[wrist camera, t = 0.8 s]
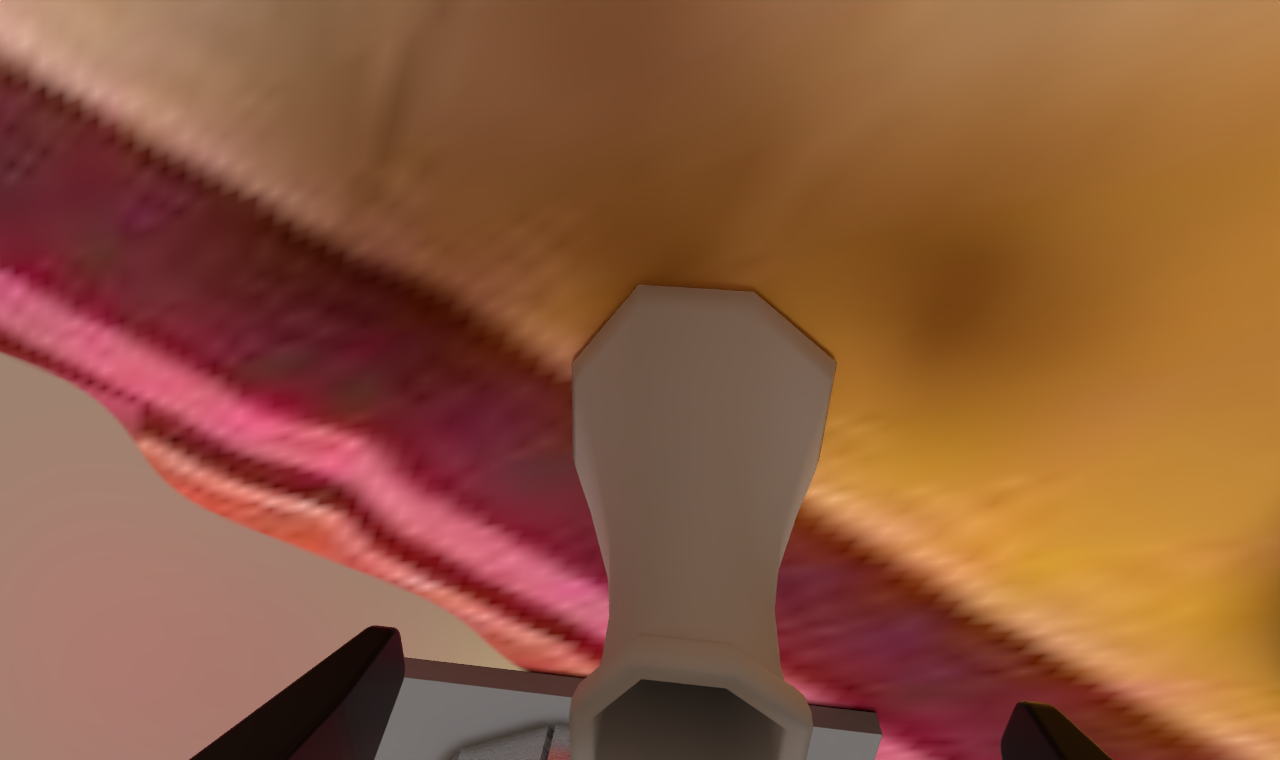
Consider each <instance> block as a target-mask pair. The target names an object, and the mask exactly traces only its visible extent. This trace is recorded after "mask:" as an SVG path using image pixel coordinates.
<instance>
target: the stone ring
mask: <svg viewBox="0 0 1280 760" xmlns="http://www.w3.org/2000/svg"><path fill="white" fill-rule="evenodd" d="M450 760H570V739H569V725H565V724H557V723H556V726H555V730H553V728H552V727H551V726H550V724H547V725H543V726H539V727H536V728H532V729H528V730H525V731H521V732H518V733H514V734H510V735H507V736H503V737H499V738H496V739H492V740H489V741H485V742H481V743H478V744H474V745H470V746H467V747H463V748H462V749H461V752H459V751H457V752H456V753H455V754H454V755H453V757H452V758H451V759H450Z"/></svg>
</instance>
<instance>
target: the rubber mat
mask: <svg viewBox="0 0 1280 760" xmlns="http://www.w3.org/2000/svg"><path fill="white" fill-rule="evenodd" d="M404 661H405V676H404V680H403V683H402V686H401V689H400V692H399V694H398V697H397V700H396V702H395V705H394V708H393V711H392V713H391V716H390V719H389V722H388V724H387V727H386V730H385V732H384V735H383V738H382V741H381V743H380V746H379V749H378V751H377V754H376V757H375V760H450V759H451V758H452V757H453V755H454V754H455V753H456V752H457V751H459V752H461V749H462V748H463V747H467V746H470V745H474V744H478V743H481V742H485V741H489V740H492V739H496V738H499V737H503V736H507V735H510V734H514V733H518V732H521V731H525V730H528V729H532V728H536V727H539V726H543V725H547V724H550V726H551V727H552V728H553V730H555V726H556V723H557V724H565V725H569V711H570V705H571V699H572V697H573V695H574V693H575V691H576V689H577V687H578V685H579V683H581V682H582V681H583V680H584V679H583V678H575V677H566V676H558V675H549V674H541V673H532V672H524V671H515V670H507V669H497V668H490V667H481V666H472V665H464V664H456V663H447V662H439V661H430V660H422V659H413V658H405V657H404ZM809 708H810V710H811V712H812V722H813V731H812V735H811V740H810V744H809V749H808V753H807V757H806V760H875V757H876V754H877V750H878V747H879V744H880V741H881V738H882V732H881V728H880V725H879V721H878V717H877V714H876V713H872V712H864V711H855V710H847V709H838V708H830V707H821V706H813V705H809Z"/></svg>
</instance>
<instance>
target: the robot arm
mask: <svg viewBox="0 0 1280 760" xmlns="http://www.w3.org/2000/svg"><path fill="white" fill-rule="evenodd" d="M404 676H405V661H404V655H403V649H402V643H401V636H400V632H399V631H398V630H397V629H396V628H394V627H393V628H392V627H385V626H370V627H368V628H366V629H365V630H363V631H362V632H361V633H359V634H358V635H357V636H355V637H354V638H353V639H351V640H350V641H349V642H347V643H346V644H344V645H343V646H342V647H341V648H339V649H338V650H336V651H335V652H334V653H332V654H331V655H330V656H328V657H327V658H326V659H324V660H323V661H322V662H320V663H319V664H318V665H316V666H315V667H313V668H312V669H311V670H309V671H308V672H307V673H306V674H304V675H303V676H301V677H300V678H299V679H297V680H296V681H295V682H293V683H292V684H291V685H289V686H288V687H287V688H285V689H284V690H283V691H281V692H280V693H278V694H277V695H276V696H274V697H273V698H272V699H270V700H269V701H268V702H266V703H265V704H264V705H262V706H261V707H260V708H258V709H257V710H255V711H254V712H253V713H251V714H250V715H249V716H248V717H246V718H245V719H243V720H242V721H241V722H239V723H238V724H237V725H235V726H234V727H233V728H231V729H230V730H229V731H227V732H226V733H224V734H223V735H222V736H220V737H219V738H218V739H217V740H215V741H214V742H212V743H211V744H210V745H208V746H207V747H206V748H204V749H203V750H202V751H200V752H199V753H198V754H196V755H195V756H194V757H192V758H191V759H189V760H375V757H376V754H377V751H378V749H379V746H380V743H381V741H382V738H383V735H384V732H385V730H386V727H387V724H388V722H389V719H390V716H391V713H392V711H393V708H394V705H395V702H396V700H397V697H398V694H399V692H400V689H401V686H402V683H403V680H404ZM1001 755H1002V759H1003V760H1113V759H1112V758H1111V757H1109V756H1108V755H1107V754H1106V753H1105V752H1104V751H1103V750H1102V749H1101V748H1100V747H1098V746H1097V745H1096V744H1095V743H1094V742H1093V741H1092V740H1091V739H1090V738H1089V737H1088V736H1086V735H1085V734H1084V733H1083V732H1082V731H1081V730H1080V729H1079V728H1078V727H1077V726H1075V725H1074V724H1073V723H1072V722H1071V721H1070V720H1069V719H1068V718H1067V717H1066V716H1065V715H1063V714H1062V713H1061V712H1060V711H1059V710H1058V709H1057V708H1055V707H1054V706H1052V705H1050V704H1046V703H1039V702H1031V701H1020V702H1019V703H1017V704H1016V706H1015V708H1014V710H1013V712H1012V715H1011V717H1010V719H1009V722H1008V724H1007V726H1006V729H1005V731H1004V733H1003V736H1002V739H1001Z"/></svg>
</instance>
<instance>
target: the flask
mask: <svg viewBox="0 0 1280 760" xmlns="http://www.w3.org/2000/svg"><path fill="white" fill-rule="evenodd" d="M836 365H837V362H836V361H834V360H833V359H832V358H831V357H830V356H829V355H827V354H826V353H825V352H824V351H823V350H822V349H820V348H819V347H818V346H817V345H816V344H815V343H813V342H812V341H811V340H810V339H809V338H808V337H806V336H805V335H804V334H803V333H802V332H801V331H799V330H798V329H797V328H796V327H795V326H794V325H792V324H791V323H790V322H789V321H788V320H787V319H785V318H784V317H783V316H782V315H781V314H780V313H778V312H777V311H776V310H775V309H774V308H773V307H771V306H770V305H769V304H768V303H767V302H766V301H764V300H763V299H762V298H761V297H760V296H759V295H757V294H756V293H755V292H750V291H735V290H719V289H704V288H688V287H672V286H657V285H641V284H639V285H638V286H637V287H636V288H635V289H634V291H633V292H632V293H631V294H630V295H629V296H628V298H627V299H626V300H625V301H624V302H623V304H622V305H621V306H620V307H619V308H618V309H617V311H616V312H615V313H614V314H613V315H612V317H611V318H610V319H609V320H608V321H607V322H606V324H605V325H604V326H603V327H602V328H601V330H600V331H599V332H598V333H597V334H596V335H595V337H594V338H593V339H592V340H591V341H590V343H589V344H588V345H587V346H586V347H585V348H584V350H583V351H582V352H581V353H580V354H579V356H578V357H577V358H576V359H575V360H574V362H573V363H572V444H573V459H574V463H575V466H576V470H577V473H578V476H579V479H580V482H581V485H582V488H583V491H584V494H585V497H586V499H587V502H588V505H589V508H590V511H591V515H592V519H593V522H594V526H595V530H596V534H597V538H598V542H599V546H600V549H601V553H602V557H603V561H604V565H605V569H606V573H607V576H608V581H609V621H608V627H607V633H606V639H605V644H604V650H603V656H602V660H601V663H600V666H599V667H598V668H597V669H596V670H595V671H594V672H592V673H591V674H590V675H589V676H588V677H586V678H585V679H584V680H583V681H582V682H581V683H579V685H578V687H577V689H576V691H575V693H574V695H573V697H572V699H571V705H570V711H569V739H570V760H806V757H807V753H808V749H809V744H810V740H811V735H812V731H813V722H812V712H811V710H810V708H809V705H808V703H807V701H806V699H805V697H804V695H803V694H802V693H801V692H799V691H798V690H797V689H796V688H794V687H793V686H791V685H790V684H788V683H787V682H786V681H784V677H783V674H782V670H781V667H780V658H779V648H778V639H777V630H776V621H775V611H774V608H775V597H776V587H777V577H778V570H779V567H780V564H781V561H782V558H783V555H784V552H785V549H786V546H787V543H788V540H789V537H790V534H791V531H792V528H793V525H794V522H795V519H796V516H797V513H798V511H799V509H800V506H801V504H802V502H803V499H804V497H805V494H806V492H807V490H808V487H809V485H810V482H811V480H812V478H813V475H814V473H815V470H816V467H817V464H818V461H819V457H820V452H821V446H822V441H823V435H824V430H825V424H826V419H827V414H828V408H829V403H830V397H831V392H832V386H833V381H834V376H835V370H836Z"/></svg>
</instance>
